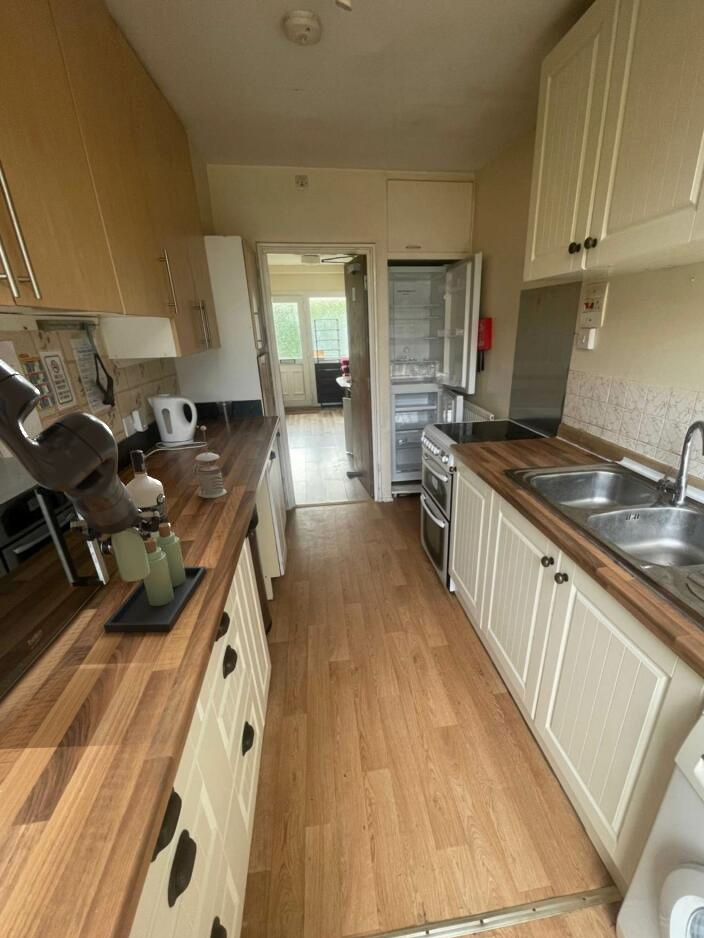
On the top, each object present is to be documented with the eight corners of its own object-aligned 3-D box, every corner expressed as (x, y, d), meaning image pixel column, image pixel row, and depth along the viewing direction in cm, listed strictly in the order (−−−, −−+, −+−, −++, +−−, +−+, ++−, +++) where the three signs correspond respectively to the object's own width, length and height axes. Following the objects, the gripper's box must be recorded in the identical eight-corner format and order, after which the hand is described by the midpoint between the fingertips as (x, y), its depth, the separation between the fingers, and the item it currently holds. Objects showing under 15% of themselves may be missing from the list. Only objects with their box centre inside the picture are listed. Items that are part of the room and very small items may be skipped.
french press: (232, 491, 161) (224, 425, 151) (208, 501, 151) (198, 431, 141) (212, 486, 165) (203, 422, 155) (188, 496, 155) (176, 428, 145)
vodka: (157, 551, 118) (134, 444, 106) (186, 556, 115) (166, 447, 104) (130, 567, 109) (103, 453, 97) (161, 573, 107) (137, 457, 95)
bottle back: (158, 587, 100) (146, 529, 95) (167, 575, 105) (156, 520, 99) (181, 586, 101) (170, 529, 95) (189, 575, 106) (179, 520, 100)
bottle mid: (144, 606, 94) (129, 545, 88) (154, 592, 98) (141, 534, 92) (168, 605, 94) (156, 545, 88) (177, 592, 99) (166, 534, 93)
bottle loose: (115, 581, 82) (96, 510, 76) (128, 568, 87) (111, 499, 81) (143, 581, 83) (126, 510, 77) (154, 567, 87) (139, 499, 81)
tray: (106, 635, 86) (103, 625, 85) (154, 575, 106) (153, 566, 105) (170, 633, 86) (168, 624, 86) (206, 574, 107) (205, 566, 106)
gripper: (152, 477, 73) (167, 515, 87) (50, 487, 67) (85, 526, 82) (157, 518, 70) (171, 550, 85) (51, 531, 65) (86, 563, 80)
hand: (128, 538), depth 83 cm, fingers closed on bottle loose, 5 cm apart
